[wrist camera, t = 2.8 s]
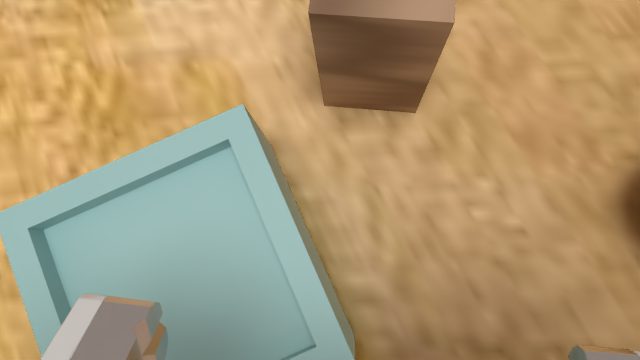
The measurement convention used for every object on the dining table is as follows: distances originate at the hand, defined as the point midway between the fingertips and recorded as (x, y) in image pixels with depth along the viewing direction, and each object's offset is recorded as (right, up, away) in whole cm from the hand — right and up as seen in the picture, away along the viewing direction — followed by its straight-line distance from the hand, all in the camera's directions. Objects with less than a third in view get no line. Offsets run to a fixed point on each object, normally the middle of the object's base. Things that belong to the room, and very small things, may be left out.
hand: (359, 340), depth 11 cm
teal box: (-6, -2, +15) cm, 16 cm away
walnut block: (+2, +9, +16) cm, 18 cm away
